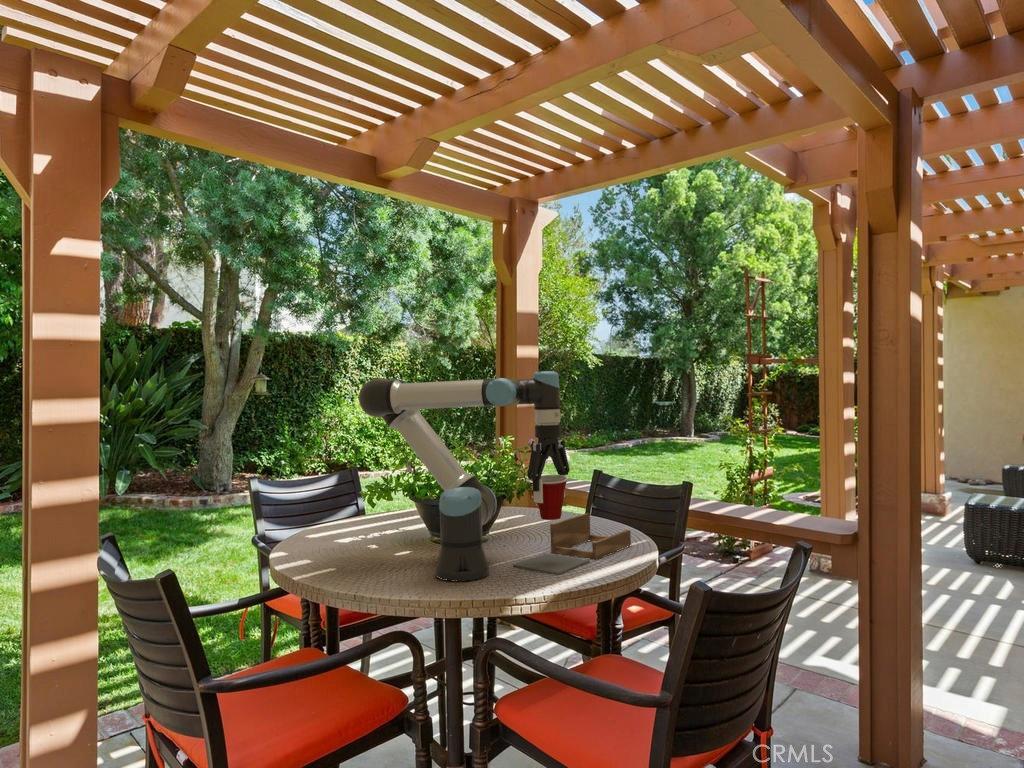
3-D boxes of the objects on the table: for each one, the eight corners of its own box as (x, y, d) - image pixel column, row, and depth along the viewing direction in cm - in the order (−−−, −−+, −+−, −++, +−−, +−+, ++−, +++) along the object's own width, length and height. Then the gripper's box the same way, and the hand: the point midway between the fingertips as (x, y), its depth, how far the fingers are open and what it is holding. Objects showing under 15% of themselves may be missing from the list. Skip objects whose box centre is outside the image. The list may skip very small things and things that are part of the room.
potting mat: (513, 566, 189) (513, 564, 189) (545, 555, 201) (545, 553, 201) (558, 575, 179) (558, 572, 179) (589, 562, 192) (589, 560, 192)
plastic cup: (529, 521, 186) (528, 479, 186) (535, 514, 197) (533, 474, 197) (567, 522, 184) (566, 479, 184) (571, 515, 195) (569, 474, 195)
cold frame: (551, 552, 204) (550, 524, 204) (587, 539, 221) (586, 513, 221) (596, 560, 194) (595, 529, 194) (630, 545, 211) (630, 517, 211)
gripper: (534, 426, 180) (536, 506, 179) (580, 422, 198) (582, 495, 197) (512, 426, 184) (515, 504, 184) (559, 422, 202) (561, 493, 202)
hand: (549, 499), depth 191 cm, fingers closed on plastic cup, 11 cm apart
